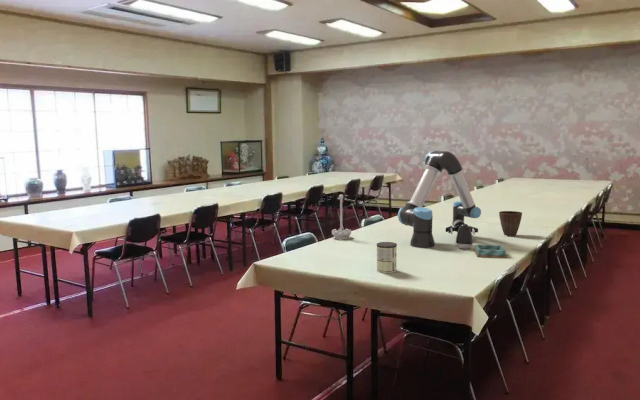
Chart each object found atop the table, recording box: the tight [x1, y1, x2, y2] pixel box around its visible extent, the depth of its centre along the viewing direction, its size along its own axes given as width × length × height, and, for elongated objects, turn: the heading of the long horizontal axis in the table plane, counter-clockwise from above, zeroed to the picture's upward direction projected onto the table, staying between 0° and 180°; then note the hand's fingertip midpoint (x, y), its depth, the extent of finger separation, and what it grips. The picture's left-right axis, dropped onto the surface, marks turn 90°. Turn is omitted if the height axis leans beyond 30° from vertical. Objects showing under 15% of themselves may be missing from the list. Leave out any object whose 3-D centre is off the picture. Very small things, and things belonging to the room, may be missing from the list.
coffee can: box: [376, 241, 398, 274], centre depth 275 cm, size 10×10×14 cm
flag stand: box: [331, 194, 352, 240], centre depth 362 cm, size 13×13×30 cm
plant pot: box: [498, 210, 523, 237], centre depth 365 cm, size 15×15×16 cm
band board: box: [473, 244, 508, 259], centre depth 310 cm, size 16×16×4 cm
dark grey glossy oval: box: [455, 223, 474, 250], centre depth 326 cm, size 10×10×15 cm
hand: (463, 232), depth 336 cm, fingers open, 13 cm apart
